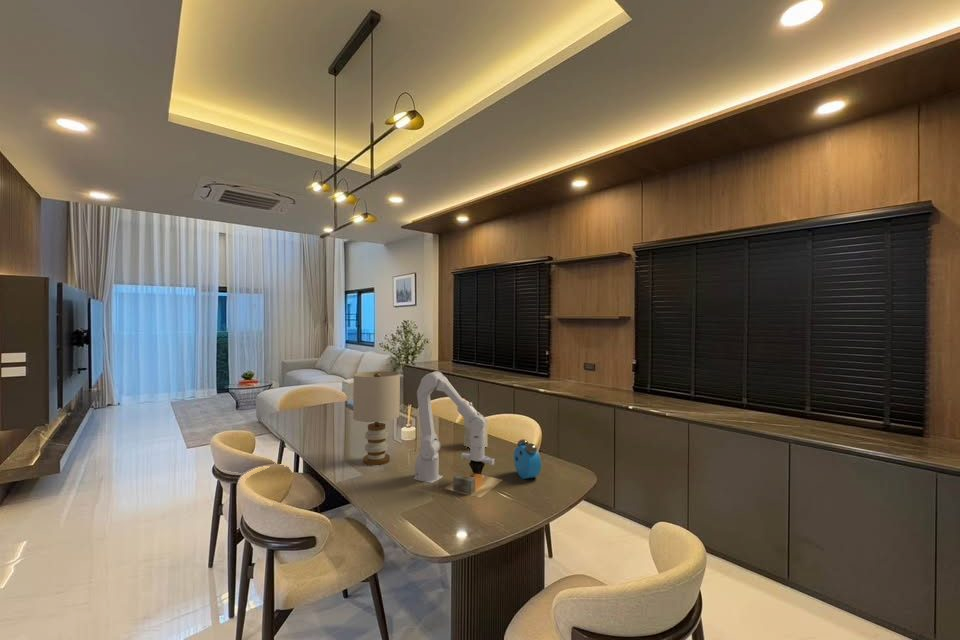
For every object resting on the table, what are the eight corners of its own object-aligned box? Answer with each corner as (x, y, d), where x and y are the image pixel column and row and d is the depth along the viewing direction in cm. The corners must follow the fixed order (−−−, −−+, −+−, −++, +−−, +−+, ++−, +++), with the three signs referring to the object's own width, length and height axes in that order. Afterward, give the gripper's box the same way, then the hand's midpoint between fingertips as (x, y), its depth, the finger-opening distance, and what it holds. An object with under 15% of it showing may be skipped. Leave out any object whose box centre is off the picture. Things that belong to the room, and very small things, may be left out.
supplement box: (477, 443, 210) (477, 415, 211) (487, 447, 204) (488, 418, 204) (463, 446, 205) (463, 417, 205) (474, 450, 198) (474, 421, 198)
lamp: (372, 473, 167) (372, 377, 168) (343, 462, 180) (344, 373, 180) (408, 459, 184) (409, 372, 185) (380, 450, 197) (380, 369, 197)
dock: (444, 489, 151) (444, 475, 152) (469, 473, 168) (469, 460, 168) (479, 498, 144) (479, 484, 144) (502, 480, 160) (502, 467, 160)
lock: (461, 487, 152) (461, 475, 152) (469, 482, 158) (469, 470, 158) (474, 490, 149) (475, 478, 149) (482, 485, 155) (482, 473, 155)
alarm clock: (541, 482, 159) (541, 445, 159) (528, 484, 157) (528, 446, 157) (525, 470, 171) (525, 436, 171) (513, 472, 169) (513, 438, 169)
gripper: (498, 445, 158) (497, 479, 158) (467, 440, 165) (467, 472, 165) (489, 450, 152) (489, 485, 152) (458, 444, 159) (458, 478, 159)
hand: (477, 479), depth 158 cm, fingers closed, pressing on lock
